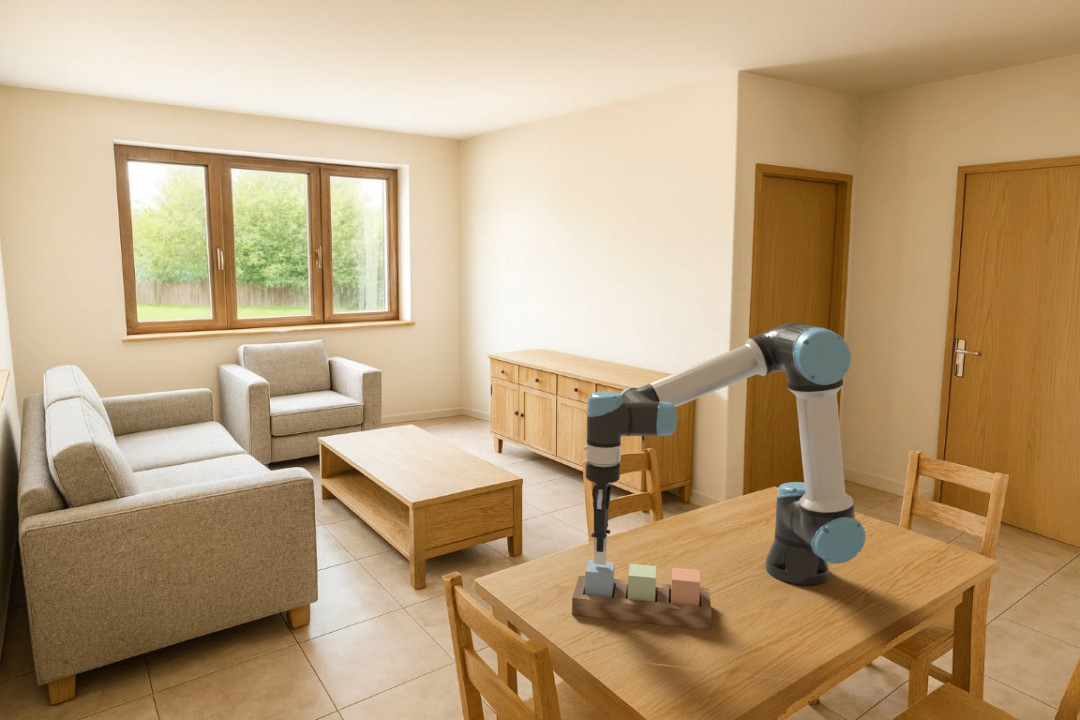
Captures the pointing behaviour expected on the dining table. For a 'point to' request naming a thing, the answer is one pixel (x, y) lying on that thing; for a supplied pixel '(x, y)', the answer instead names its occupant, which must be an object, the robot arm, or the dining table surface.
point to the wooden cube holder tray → (642, 606)
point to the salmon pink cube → (685, 587)
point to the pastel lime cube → (642, 582)
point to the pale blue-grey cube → (599, 579)
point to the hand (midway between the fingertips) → (600, 562)
